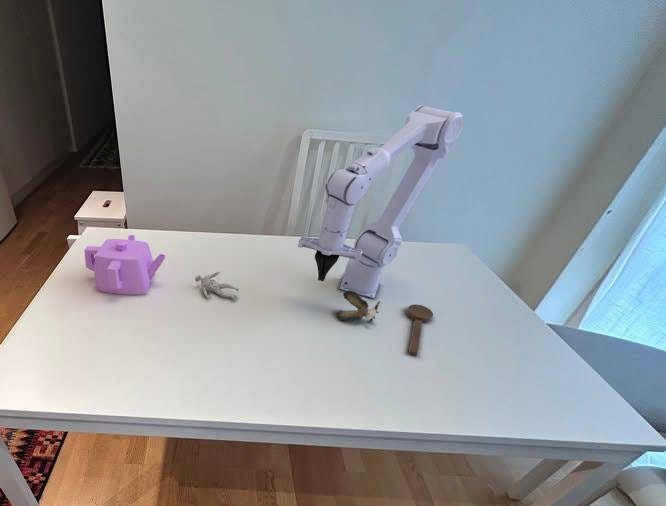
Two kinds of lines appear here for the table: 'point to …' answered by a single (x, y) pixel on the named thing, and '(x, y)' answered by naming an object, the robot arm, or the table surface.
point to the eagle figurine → (358, 303)
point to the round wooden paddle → (417, 324)
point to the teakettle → (122, 265)
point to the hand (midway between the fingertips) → (321, 278)
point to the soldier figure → (214, 285)
